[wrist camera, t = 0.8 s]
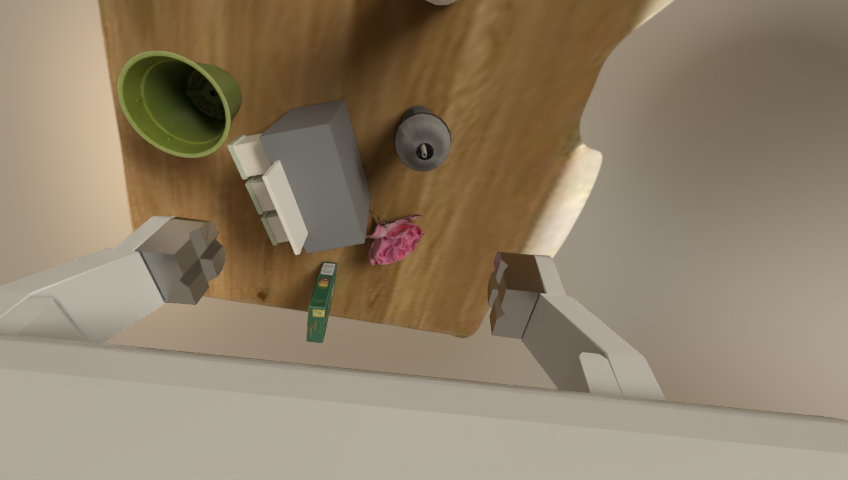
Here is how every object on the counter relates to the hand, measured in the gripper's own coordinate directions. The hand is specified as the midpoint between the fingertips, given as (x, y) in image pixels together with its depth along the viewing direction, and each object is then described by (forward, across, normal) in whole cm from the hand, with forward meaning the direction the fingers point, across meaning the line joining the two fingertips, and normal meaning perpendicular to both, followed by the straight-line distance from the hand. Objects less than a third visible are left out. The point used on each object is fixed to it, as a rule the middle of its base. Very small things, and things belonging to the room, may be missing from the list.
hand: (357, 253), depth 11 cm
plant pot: (+44, +29, +10) cm, 54 cm away
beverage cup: (+47, +1, +12) cm, 48 cm away
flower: (+45, +3, +31) cm, 54 cm away
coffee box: (+42, +15, +42) cm, 61 cm away
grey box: (+44, +13, +18) cm, 50 cm away
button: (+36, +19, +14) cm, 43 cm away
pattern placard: (+29, +14, +17) cm, 37 cm away
